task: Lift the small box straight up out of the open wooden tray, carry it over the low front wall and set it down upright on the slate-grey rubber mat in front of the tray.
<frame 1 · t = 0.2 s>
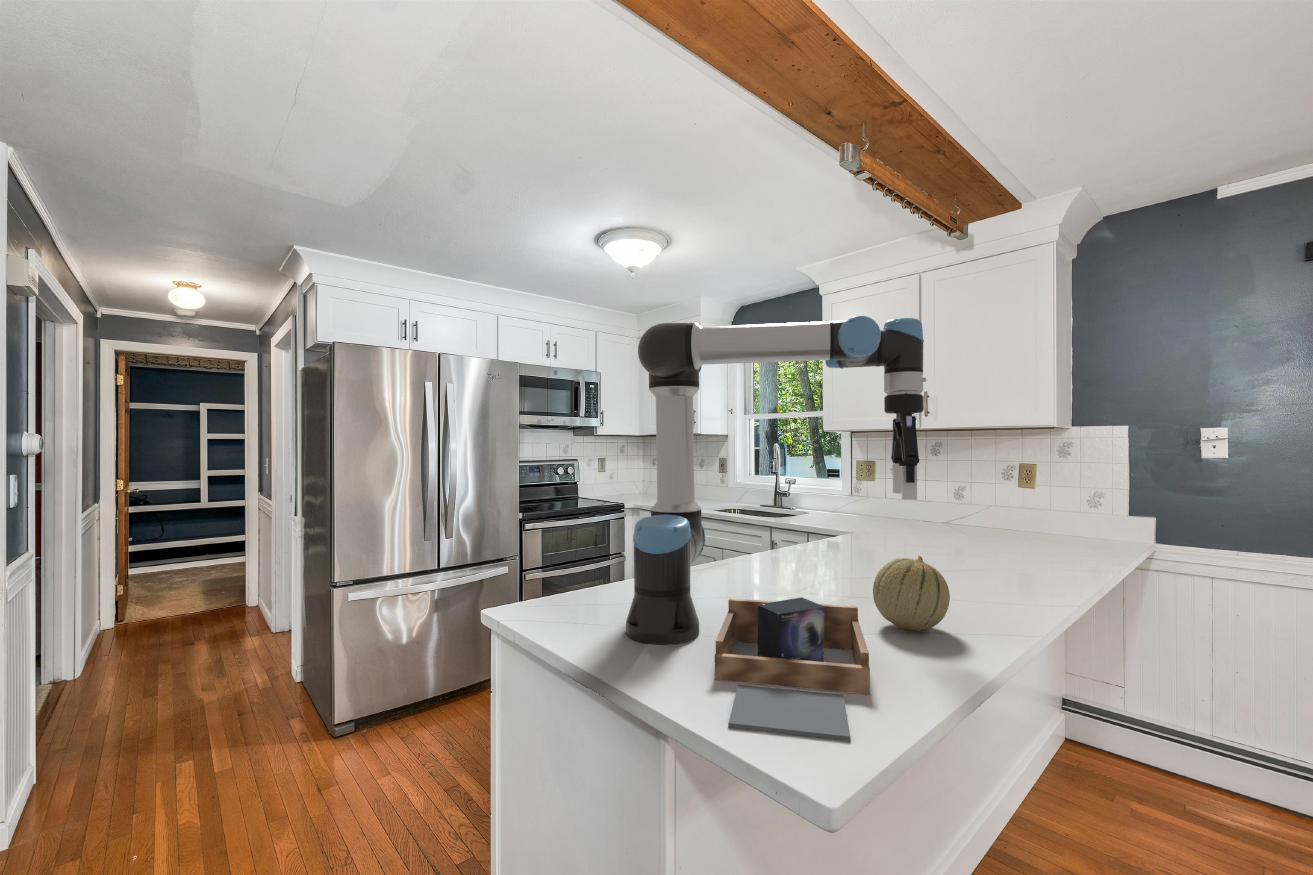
hand: (904, 496, 120), 28 cm above the counter, tool pointing down, fingers open, 13 cm apart
small box: (790, 664, 102), resting in open wooden tray
mat: (788, 711, 84), on the counter
open wooden tray: (790, 663, 102), on the counter
cantaloupe: (910, 629, 121), on the counter
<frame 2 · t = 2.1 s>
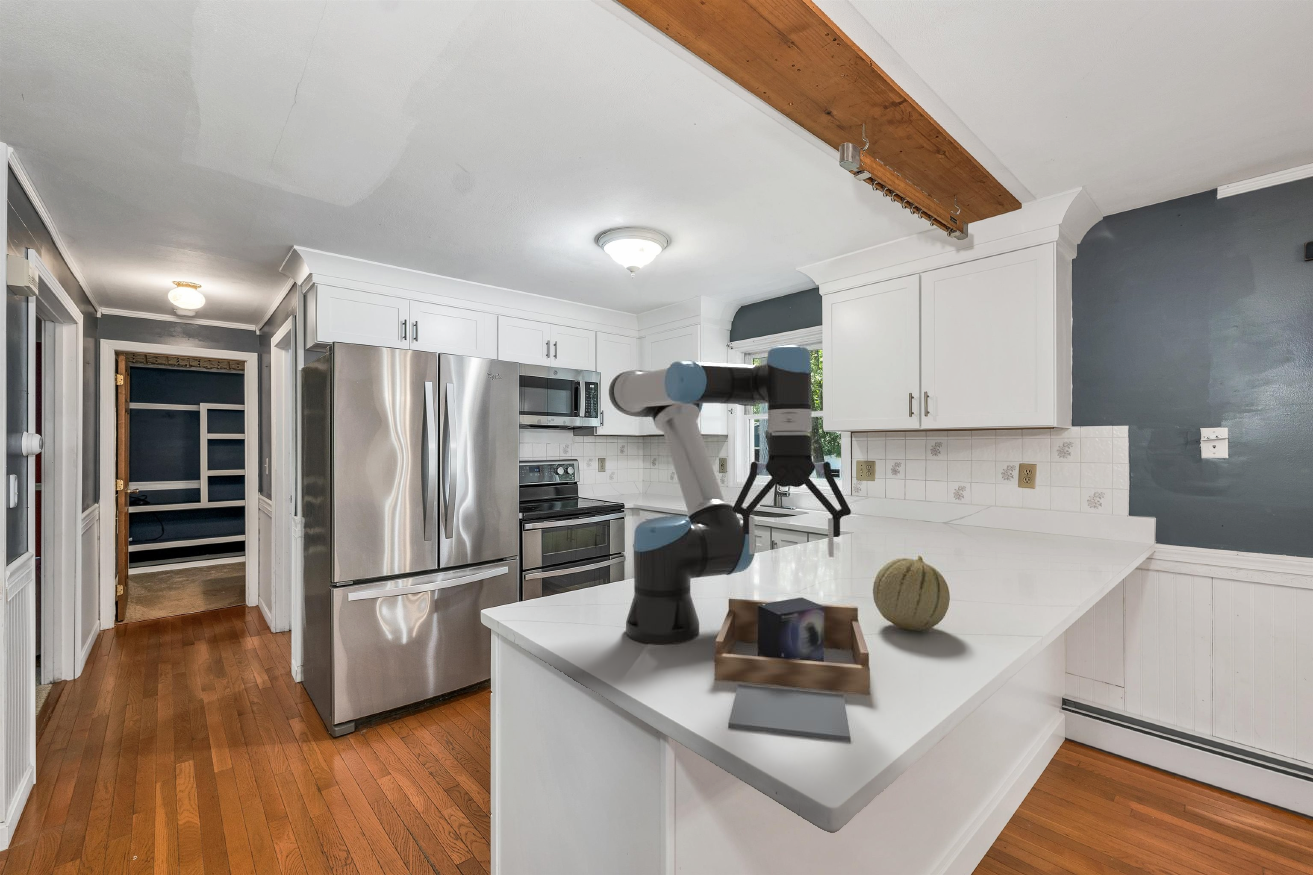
hand: (790, 554, 102), 19 cm above the counter, tool pointing down, fingers open, 13 cm apart
nothing on the counter moved.
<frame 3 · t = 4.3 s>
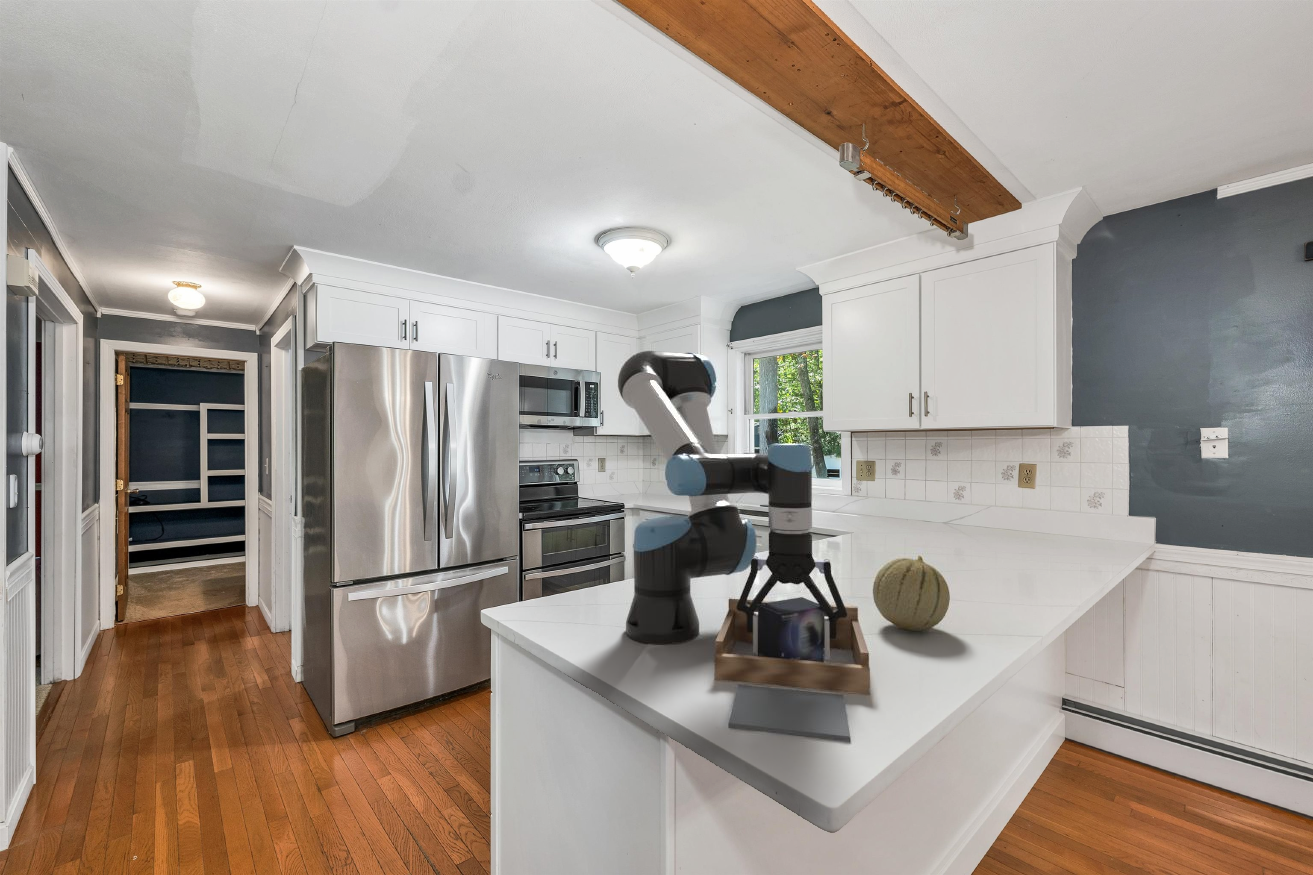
hand: (790, 653, 102), 2 cm above the counter, tool pointing down, fingers closed on small box, 11 cm apart
small box: (791, 664, 102), resting in open wooden tray, touching gripper
everything else where it was.
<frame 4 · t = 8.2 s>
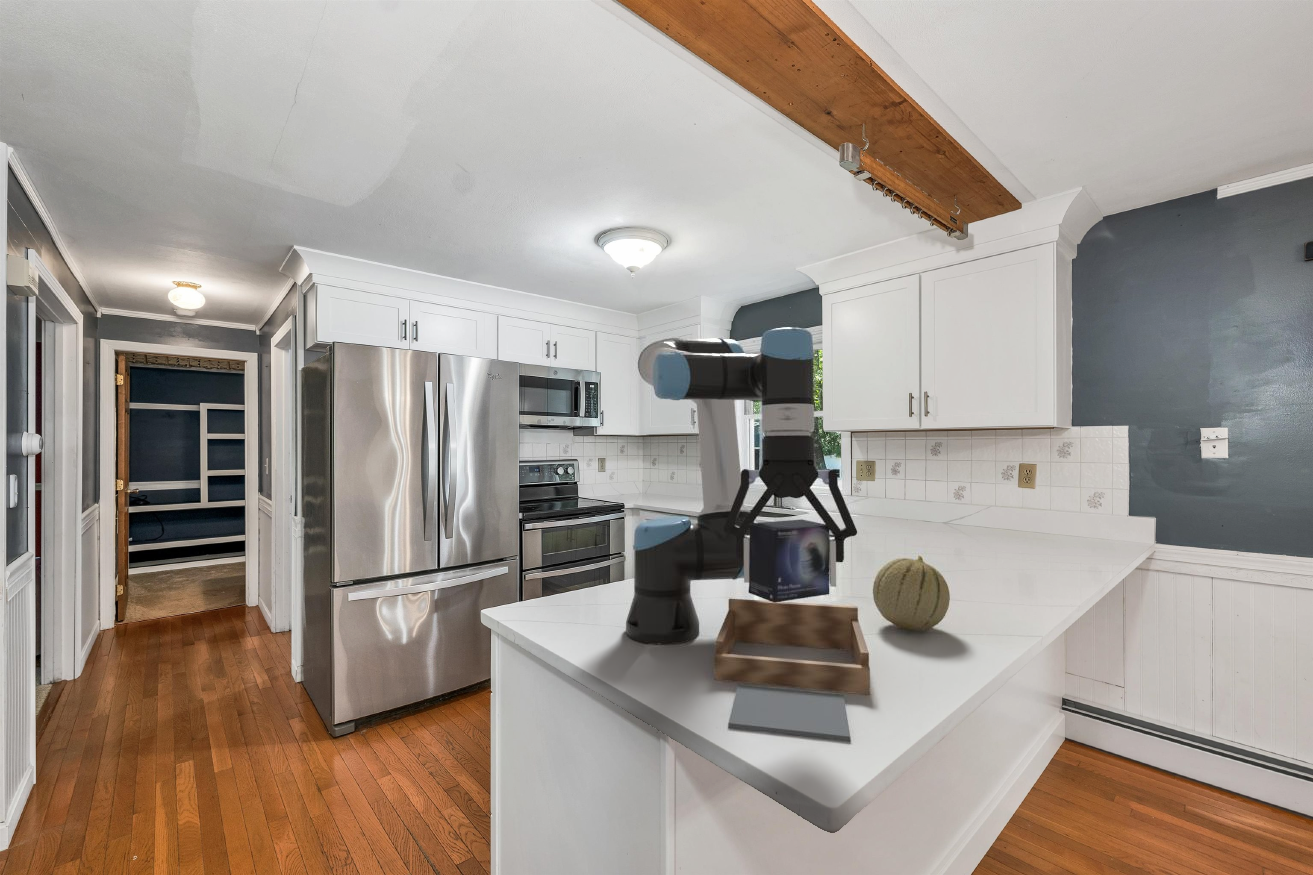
hand: (789, 582, 85), 19 cm above the counter, tool pointing down, fingers closed on small box, 11 cm apart
small box: (789, 595, 85), point 17 cm above the counter, touching gripper
everything else where it was.
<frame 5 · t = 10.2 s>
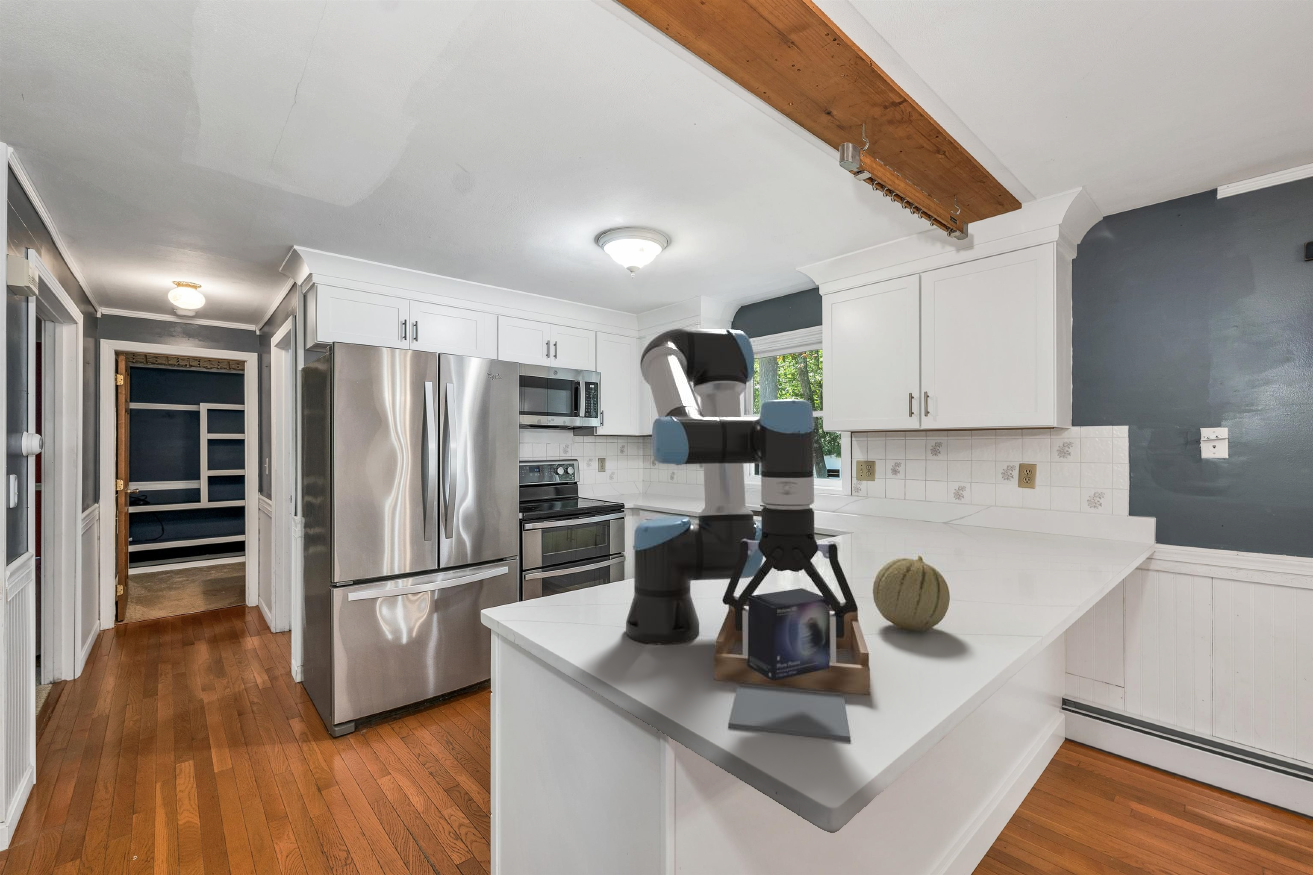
hand: (788, 656, 84), 8 cm above the counter, tool pointing down, fingers closed on small box, 11 cm apart
small box: (788, 669, 84), point 6 cm above the counter, touching gripper
everything else where it was.
when the fingers open (4 cm above the counter, at t = 12.1 s): small box drops 1 cm, resting on mat.
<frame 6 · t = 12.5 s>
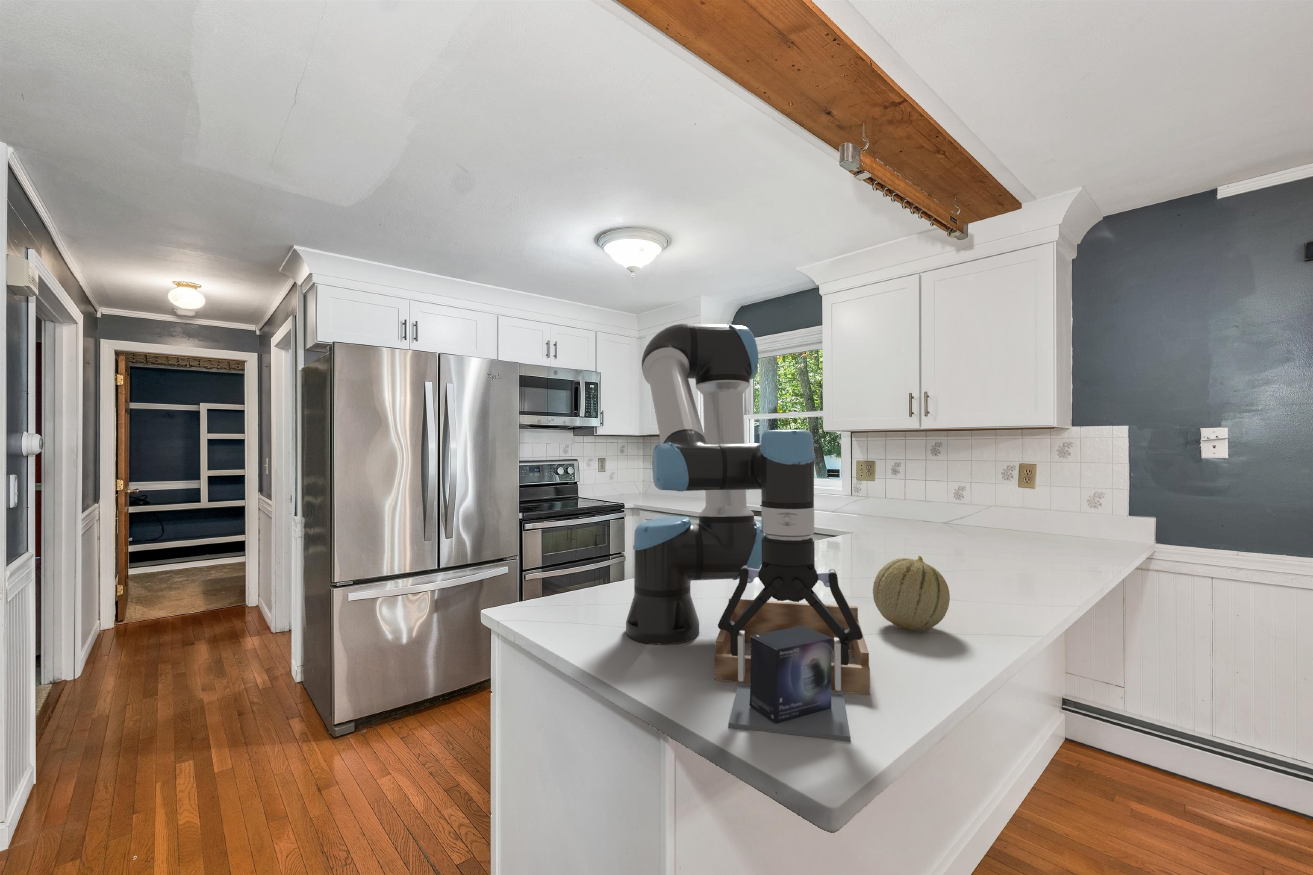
hand: (788, 682, 84), 4 cm above the counter, tool pointing down, fingers open, 13 cm apart
small box: (790, 709, 84), resting on mat
everything else where it was.
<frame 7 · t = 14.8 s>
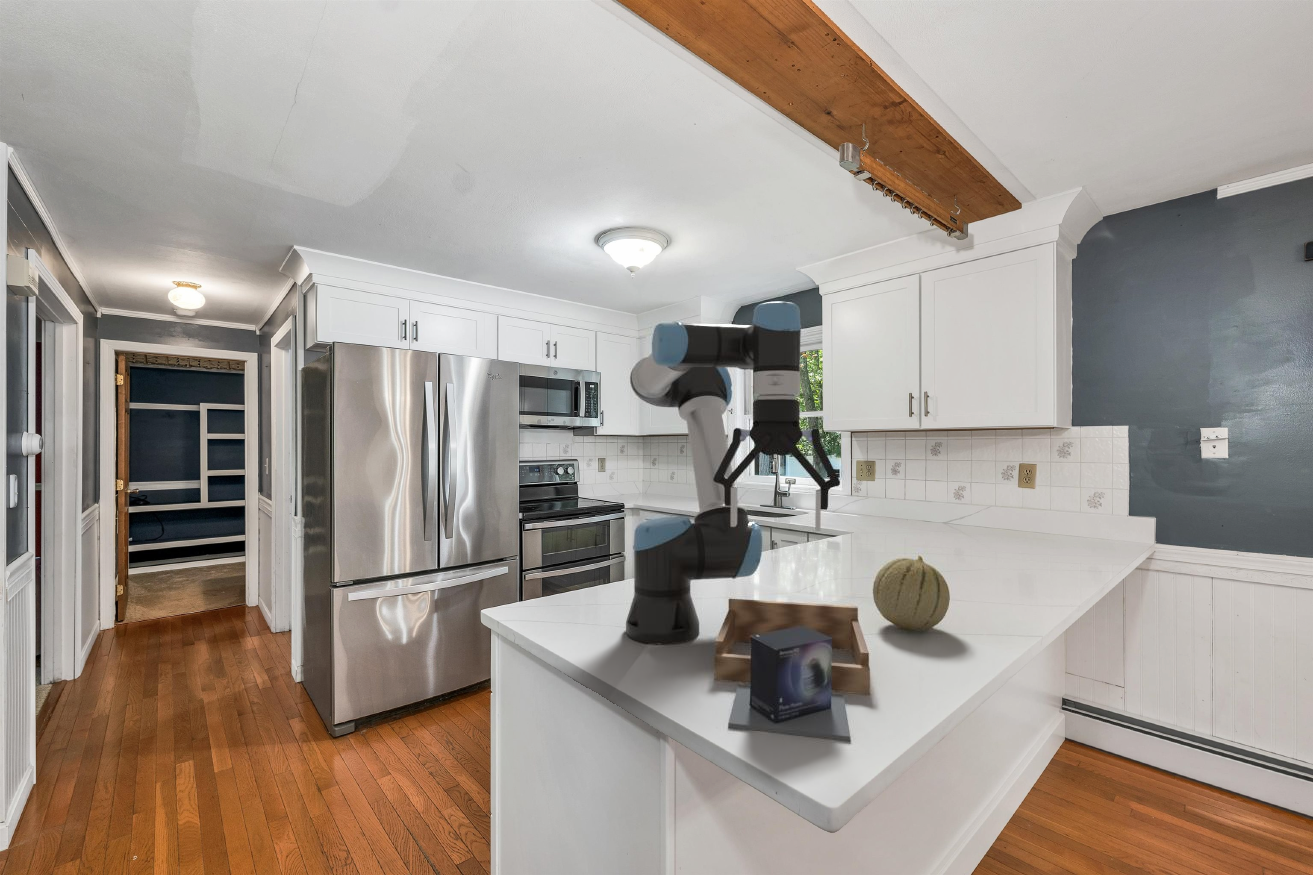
hand: (775, 527, 96), 25 cm above the counter, tool pointing down, fingers open, 13 cm apart
nothing on the counter moved.
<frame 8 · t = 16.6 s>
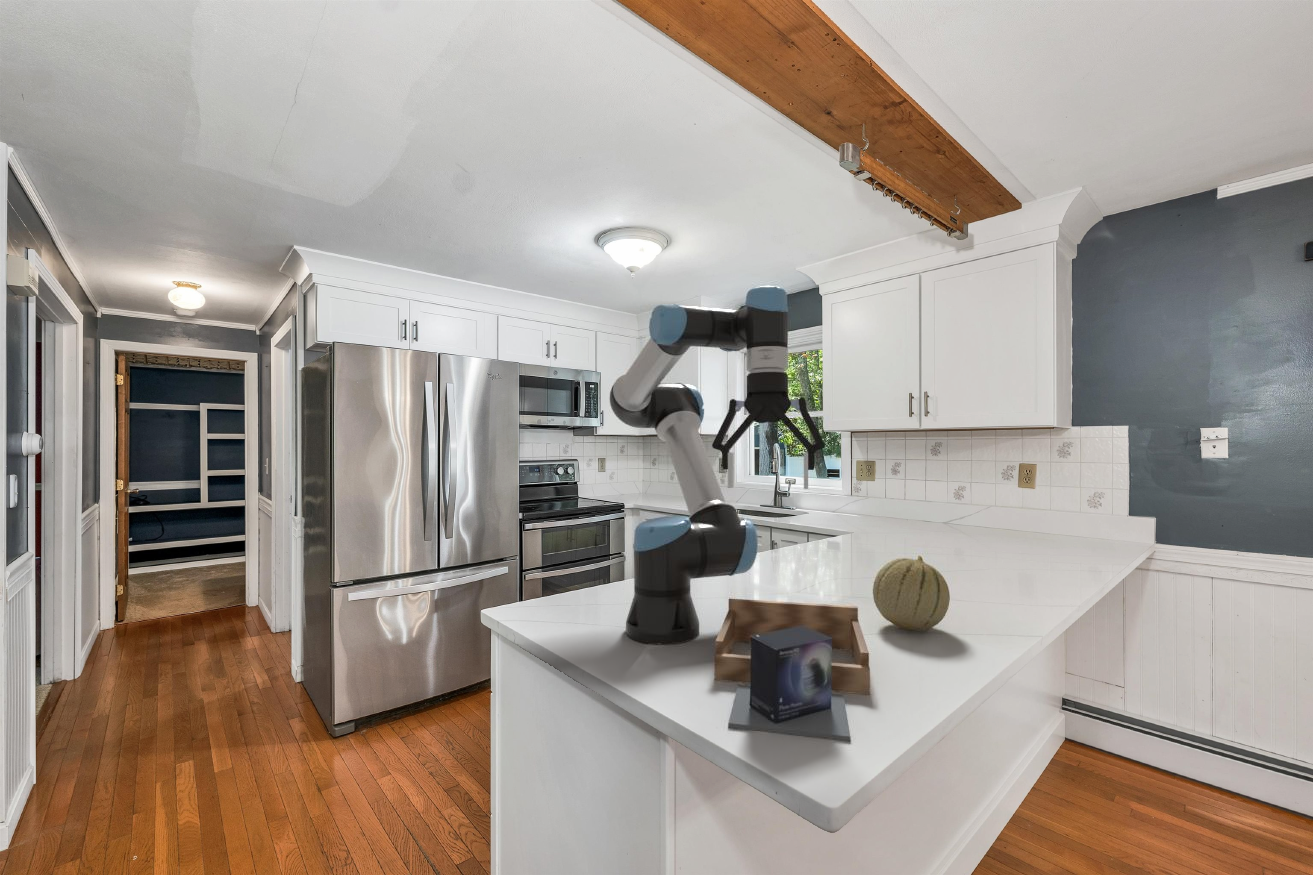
hand: (767, 488, 107), 31 cm above the counter, tool pointing down, fingers open, 13 cm apart
nothing on the counter moved.
at the end: small box inside the target area (0.3 cm from its centre), resting on mat; small box tilted 0°; small box touching mat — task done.
